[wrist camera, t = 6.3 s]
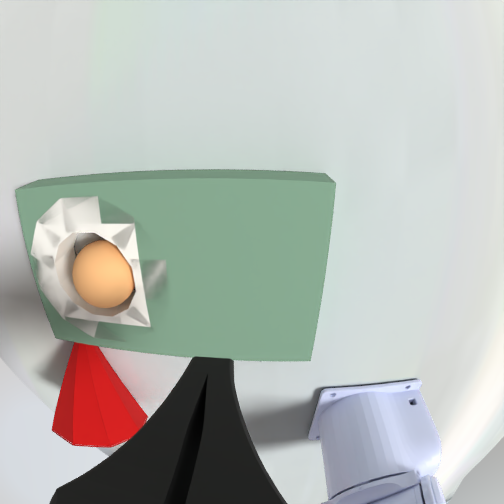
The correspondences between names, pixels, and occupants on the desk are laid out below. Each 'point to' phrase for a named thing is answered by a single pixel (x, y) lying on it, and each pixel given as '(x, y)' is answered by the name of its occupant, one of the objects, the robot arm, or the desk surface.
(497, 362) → the desk surface
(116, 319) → the green flat board
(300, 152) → the desk surface
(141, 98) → the desk surface
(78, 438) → the gemstone
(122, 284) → the ball
